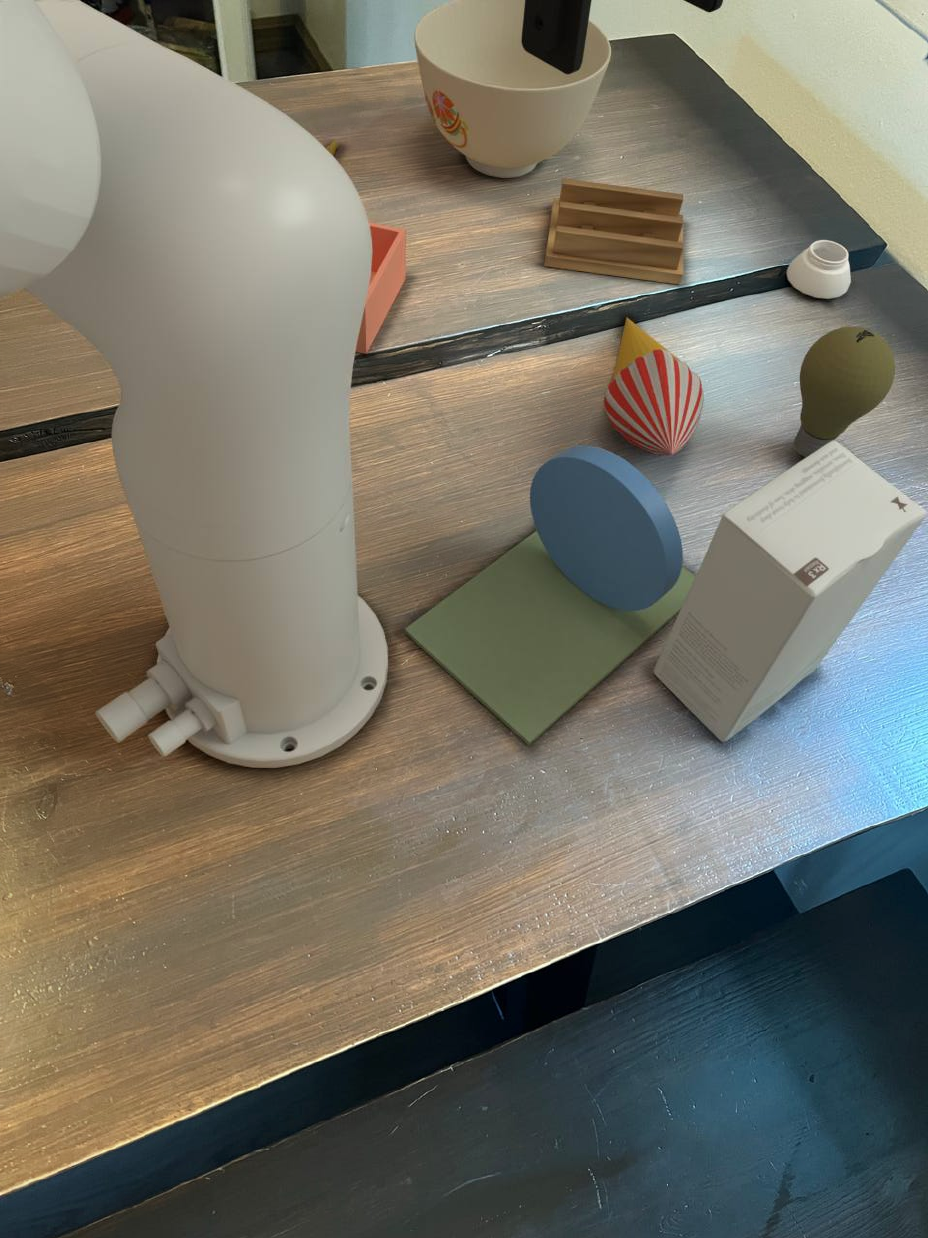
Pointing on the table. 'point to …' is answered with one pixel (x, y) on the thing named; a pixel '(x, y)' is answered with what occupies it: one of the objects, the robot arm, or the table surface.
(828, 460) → the cosmetic box
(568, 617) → the mat
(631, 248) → the rack
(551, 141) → the bowl
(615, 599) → the disc
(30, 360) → the table surface
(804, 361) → the light bulb
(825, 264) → the white jar
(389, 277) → the red open box
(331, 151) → the dagger
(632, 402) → the ice cream cone
